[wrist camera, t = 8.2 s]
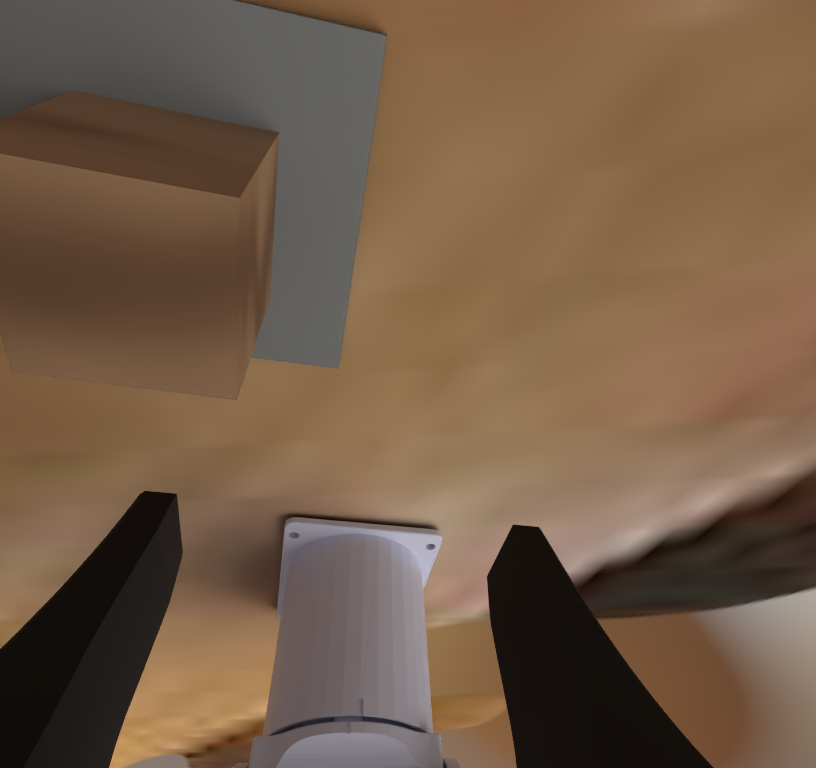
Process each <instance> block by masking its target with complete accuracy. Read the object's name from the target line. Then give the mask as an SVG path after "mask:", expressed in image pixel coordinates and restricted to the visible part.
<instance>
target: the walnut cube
mask: <svg viewBox="0 0 816 768" xmlns="http://www.w3.org/2000/svg"><path fill="white" fill-rule="evenodd" d="M278 147H279V133H278V132H274V131H269V130H264V129H259V128H254V127H249V126H245V125H240V124H235V123H230V122H225V121H220V120H216V119H211V118H206V117H201V116H196V115H191V114H186V113H182V112H177V111H172V110H167V109H162V108H157V107H153V106H148V105H143V104H138V103H133V102H128V101H123V100H119V99H114V98H109V97H104V96H99V95H94V94H90V93H85V92H80V91H75V90H72V91H70V92H67V93H65V94H62V95H60V96H57V97H55V98H52V99H50V100H47V101H45V102H42V103H40V104H37V105H35V106H32V107H30V108H28V109H25V110H23V111H20V112H18V113H15V114H13V115H10V116H8V117H5V118H3V119H0V334H1V338H2V341H3V344H4V347H5V351H6V354H7V357H8V361H9V364H10V367H11V370H12V372H20V373H27V374H35V375H43V376H51V377H59V378H67V379H75V380H83V381H91V382H98V383H106V384H114V385H122V386H130V387H138V388H146V389H154V390H161V391H169V392H177V393H185V394H193V395H201V396H209V397H217V398H224V399H232V400H237V398H238V394H239V391H240V388H241V385H242V382H243V379H244V376H245V373H246V370H247V367H248V364H249V361H250V358H251V355H252V352H253V349H254V346H255V343H256V340H257V337H258V334H259V331H260V328H261V325H262V322H263V319H264V316H265V313H266V310H267V307H268V304H269V301H270V291H271V273H272V255H273V237H274V219H275V201H276V183H277V165H278Z"/></svg>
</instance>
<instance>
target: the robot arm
mask: <svg viewBox="0 0 816 768" xmlns="http://www.w3.org/2000/svg"><path fill="white" fill-rule="evenodd" d="M441 542H442V534H441V532H440V531H438V530H435V529H425V528H413V527H402V526H391V525H380V524H368V523H357V522H346V521H335V520H323V519H312V518H301V517H292V518H289V519H287V520H286V522H285V527H284V537H283V549H282V560H281V571H280V582H279V594H278V605H277V616H276V617H277V619H278V620H280V627H279V633H278V640H277V647H276V653H275V660H274V666H273V673H272V679H271V686H270V693H269V699H268V706H267V712H266V719H265V725H264V732H263V737H255V738H254V739H253V744H252V750H251V756H250V762H249V763H239V764H236V765H235V766H233V767H232V768H462V767H461V765H460V763H459V762H458V761H457V760H456V759H453V758H446V759H443V757H442V744H441V735H440V734H439V733H433V726H432V712H431V697H430V683H429V670H428V669H429V668H428V655H427V639H426V625H425V610H424V596H423V589H424V586H425V584H426V581H427V579H428V576H429V573H430V571H431V568H432V566H433V563H434V561H435V558H436V555H437V553H438V550H439V548H440V545H441ZM182 554H183V551H182V541H181V532H180V522H179V512H178V502H177V494H173V493H162V492H151V491H144V492H143V493H141V494H140V495H139V496H138V497H137V499H136V500H135V501H134V503H133V504H132V505H131V506H130V508H129V509H128V510H127V512H126V513H125V514H124V515H123V517H122V518H121V519H120V520H119V522H118V523H117V524H116V525H115V526H114V528H113V529H112V530H111V531H110V533H109V534H108V535H107V536H106V537H105V538H104V540H103V541H102V542H101V543H100V544H99V546H98V547H97V548H96V549H95V550H94V551H93V553H92V554H91V555H90V556H89V557H88V558H87V559H86V560H85V561H84V563H83V564H82V565H81V566H80V567H79V568H78V569H77V570H76V572H75V573H74V574H73V575H72V576H71V577H70V578H69V579H68V580H67V582H66V583H65V584H64V585H63V586H62V587H61V588H60V589H59V590H58V591H57V592H56V593H55V595H54V596H53V597H52V598H51V599H50V600H49V601H48V602H47V603H46V604H45V605H44V606H43V607H42V608H41V609H40V610H39V611H38V612H37V613H36V614H35V615H34V616H33V617H32V618H31V619H30V620H29V621H28V622H27V623H26V624H25V625H24V626H23V627H22V628H21V629H20V630H19V631H18V632H17V633H16V634H15V635H14V636H13V637H12V638H11V639H10V640H9V641H8V642H7V643H6V644H5V645H4V646H3V647H2V648H1V649H0V768H109V765H110V762H111V759H112V755H113V752H114V749H115V745H116V742H117V739H118V736H119V733H120V730H121V728H122V725H123V722H124V719H125V716H126V713H127V711H128V708H129V706H130V703H131V701H132V698H133V696H134V693H135V690H136V688H137V685H138V683H139V680H140V678H141V675H142V672H143V670H144V667H145V665H146V662H147V660H148V657H149V654H150V652H151V649H152V647H153V644H154V642H155V639H156V636H157V634H158V631H159V629H160V626H161V623H162V621H163V618H164V616H165V613H166V610H167V608H168V605H169V602H170V599H171V595H172V592H173V588H174V584H175V581H176V577H177V573H178V569H179V566H180V562H181V558H182ZM487 582H488V597H489V609H490V620H491V627H492V632H493V637H494V643H495V648H496V653H497V658H498V663H499V669H500V673H501V679H502V684H503V688H504V693H505V699H506V704H507V709H508V714H509V719H510V724H511V729H512V736H513V741H514V748H515V756H516V765H517V768H713V767H712V766H711V765H710V764H709V762H708V761H707V760H706V759H705V758H704V757H703V756H702V755H701V754H700V753H699V752H698V751H697V749H696V748H695V747H694V746H693V745H692V744H691V743H690V742H689V740H688V739H687V738H686V737H685V736H684V735H683V733H682V732H681V731H680V730H679V729H678V728H677V726H676V725H675V724H674V723H673V722H672V720H671V719H670V718H669V717H668V715H667V714H666V713H665V712H664V711H663V709H662V708H661V707H660V706H659V704H658V703H657V702H656V701H655V700H654V698H653V697H652V696H651V694H650V693H649V692H648V690H647V689H646V688H645V687H644V685H643V684H642V683H641V681H640V680H639V679H638V677H637V676H636V675H635V674H634V672H633V671H632V669H631V668H630V667H629V665H628V664H627V662H626V661H625V660H624V658H623V657H622V656H621V654H620V653H619V651H618V650H617V649H616V647H615V646H614V644H613V643H612V641H611V640H610V639H609V637H608V636H607V634H606V633H605V631H604V630H603V628H602V627H601V625H600V624H599V622H598V621H597V619H596V618H595V616H594V615H593V613H592V612H591V610H590V609H589V607H588V605H587V604H586V602H585V601H584V599H583V598H582V596H581V595H580V593H579V591H578V590H577V588H576V587H575V585H574V583H573V582H572V580H571V579H570V577H569V575H568V574H567V572H566V571H565V569H564V567H563V566H562V564H561V562H560V561H559V559H558V557H557V556H556V554H555V552H554V551H553V549H552V547H551V546H550V544H549V542H548V541H547V539H546V537H545V536H544V534H543V532H542V531H541V529H540V528H539V527H532V526H521V525H513V526H512V528H511V530H510V532H509V534H508V536H507V538H506V540H505V542H504V544H503V546H502V548H501V550H500V552H499V554H498V556H497V558H496V560H495V562H494V564H493V566H492V568H491V570H490V572H489V574H488V576H487Z"/></svg>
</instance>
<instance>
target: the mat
mask: <svg viewBox="0 0 816 768" xmlns="http://www.w3.org/2000/svg"><path fill="white" fill-rule="evenodd" d="M386 39H387V34H383V33H379V32H375V31H370V30H366V29H362V28H357V27H353V26H349V25H344V24H340V23H336V22H331V21H327V20H323V19H318V18H314V17H309V16H305V15H301V14H296V13H292V12H288V11H283V10H279V9H275V8H270V7H266V6H262V5H257V4H253V3H249V2H244V1H240V0H0V119H3V118H5V117H8V116H10V115H13V114H15V113H18V112H20V111H23V110H25V109H28V108H30V107H32V106H35V105H37V104H40V103H42V102H45V101H47V100H50V99H52V98H55V97H57V96H60V95H62V94H65V93H67V92H70V91H72V90H75V91H80V92H85V93H90V94H94V95H99V96H104V97H109V98H114V99H119V100H123V101H128V102H133V103H138V104H143V105H148V106H153V107H157V108H162V109H167V110H172V111H177V112H182V113H186V114H191V115H196V116H201V117H206V118H211V119H216V120H220V121H225V122H230V123H235V124H240V125H245V126H249V127H254V128H259V129H264V130H269V131H274V132H278V133H279V147H278V165H277V183H276V201H275V219H274V237H273V255H272V273H271V291H270V301H269V304H268V307H267V310H266V313H265V316H264V319H263V322H262V325H261V328H260V331H259V334H258V337H257V340H256V343H255V346H254V349H253V352H252V355H251V357H254V358H262V359H269V360H277V361H284V362H292V363H299V364H307V365H314V366H322V367H330V368H337V369H339V362H340V355H341V348H342V341H343V334H344V327H345V321H346V314H347V307H348V300H349V293H350V286H351V279H352V272H353V266H354V259H355V252H356V245H357V238H358V231H359V224H360V218H361V211H362V204H363V197H364V190H365V183H366V176H367V169H368V163H369V156H370V149H371V142H372V135H373V128H374V121H375V115H376V108H377V101H378V94H379V87H380V80H381V73H382V67H383V60H384V53H385V46H386Z"/></svg>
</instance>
